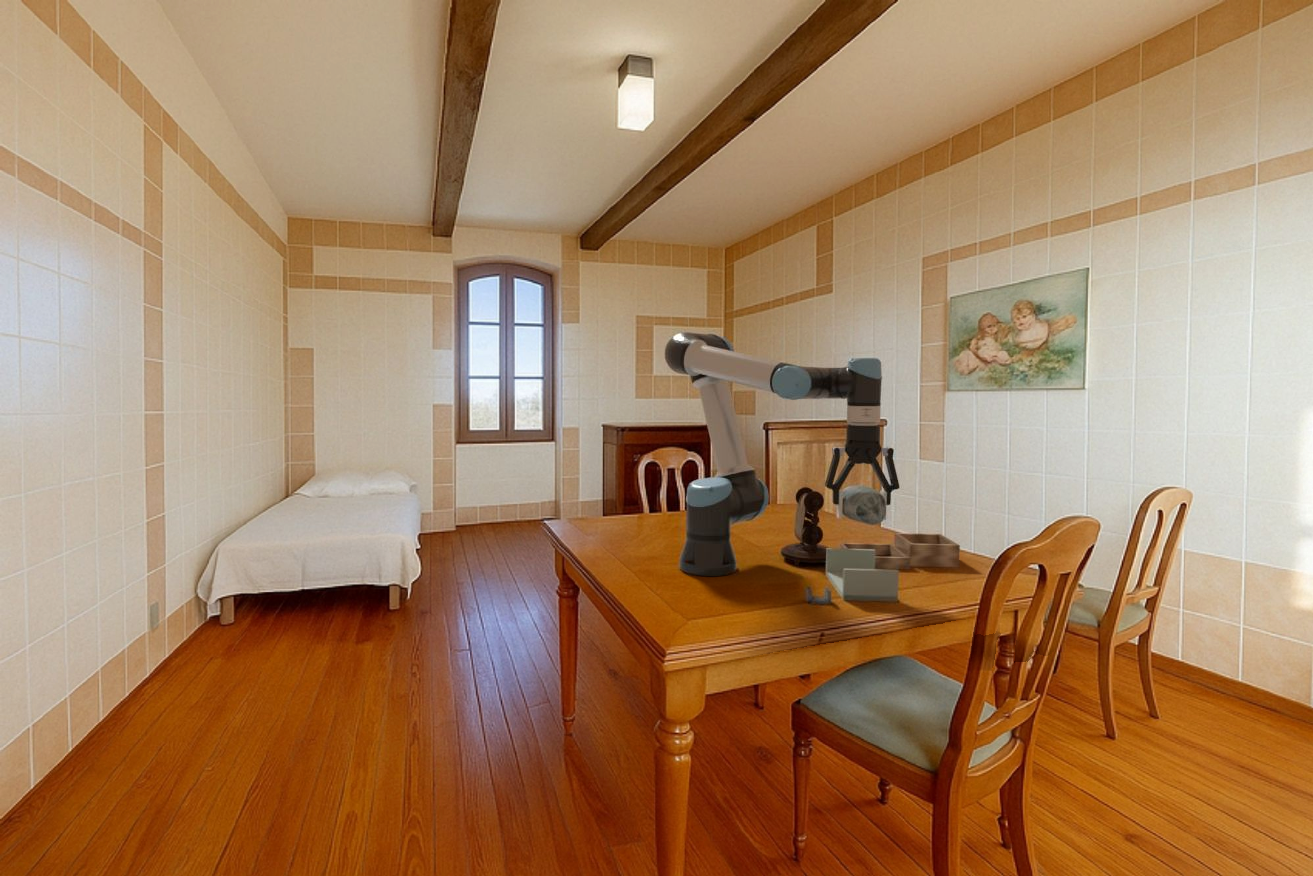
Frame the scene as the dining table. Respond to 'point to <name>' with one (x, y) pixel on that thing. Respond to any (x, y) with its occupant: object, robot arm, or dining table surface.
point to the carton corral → (928, 549)
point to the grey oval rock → (863, 504)
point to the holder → (860, 575)
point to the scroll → (807, 529)
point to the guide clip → (818, 597)
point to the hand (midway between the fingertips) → (860, 518)
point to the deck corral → (893, 562)
